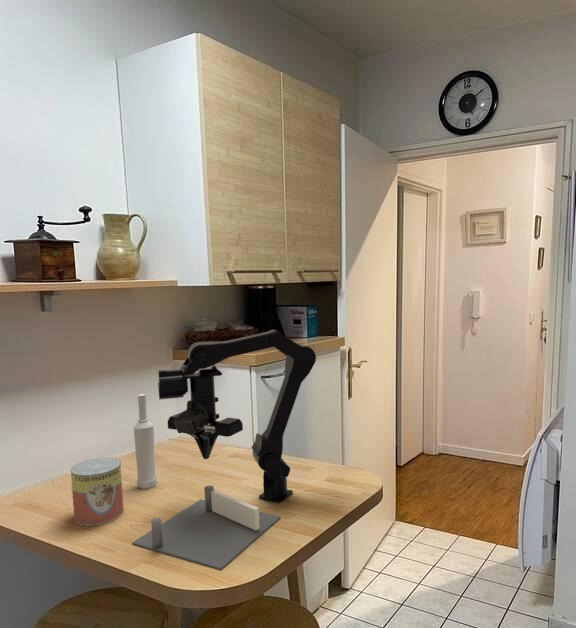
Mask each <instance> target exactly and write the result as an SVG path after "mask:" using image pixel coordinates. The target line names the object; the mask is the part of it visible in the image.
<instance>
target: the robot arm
mask: <svg viewBox="0 0 576 628" xmlns="http://www.w3.org/2000/svg"><path fill="white" fill-rule="evenodd" d="M271 348H274V349H275V350H278V351H279V352H280V353H282V354H283V355H285V356H286V358H285V362H284V364H285V365H284V378H283V381H282V384H281V387H280V390H279V392H278V394H277V395H278V396H277V398H276V401H275V404H274V407H273V410H272V412H271V415H270V418H269V422H268V424H267V427H266V429H265V430H264V432H262V434H260V433H256V435H255V439H254V442H253V444H252V446H251V450H252V457H253V459H254V461H255V462H256V463H257V465H258V467H259V468H260V469H261V470H262V471H263V475H262V477H263V481H262V482H263V484H262V485H263V492H262V493H261V494H260V495H259V496H258V498H259V499H260V500H266V501H271V502H276V503H282V502H284V501H285V500H286V499H287V498H288V497H290V496H291V495H292V494H293V490H291V489H288V480H287V479H288V477H289V475H290V471H291V467H290V466H289V465H288V464H287V462H286V461H285V460H284V459H283V458H282V457H283V449H284V446H283V445H284V442H283V440H284V436H285V435H284V434H285V431H286V429H287V426H288V423H289V419H290V417H291V414H292V411H293V409H294V407H295V406H294V405H295V402H296V399H297V397H298V394H299V390H300V388H301V385H302V383H303V382H304V381H305V379H306V378H307V377H308V376H309V374H310V372H311V371H312V370H313V367H314V366H315V363H316V361H317V355H316V353H315V351H314V350H313V348H312V347H309V346H307V345H304V344H301V343H297V342H295V341H293V340H292V339H290V338H288V337H287V336H285V335H283V333H282V332H281V331H278V330H276V329H269V330H268V331H265V332H261V333H256V334H251V335H247V336H243V337H239V338H234V339H229V340H224V341H196V342H194V343H192V344H191V345H190V346H189V348H188V351H187V357H186V358H185V360H184V362H183V363H182V364H181V366H180V369H169V370H167V369H158V371H157V372H158V382H157V387H158V400H168V399H169V400H170V399H178V398H179V399H180V398H184V395H186V394H188V393H189V388H190V400H188V401H187V403H186V409H185V410H184V411H181V412H179V413H177V414H176V413H175V414H174V415H170V416H169V417H168V420H167V429H169V430H176V432H177V433H178V434H186V435H189V436H190V437H191V438H193V439H194V440H195V442H196V444H197V446H198V449H199V451H200V455H201V457H202V458H203V460H208V459H209V458H210V456H211V453H212V450H213V449H214V446H215V443H216V441H217V439H218V437H226V438H227V437H232V436H233V435H236V434H238V433H240V432H242V431H243V430H244V428H243V427H244V425H243V421H242V420H241V419H240V418H237V417H236V418H234V417H226V418H223V419H221V420H218V419H220V413H217V411H216V410H217V409H216V403H217V402H219V397H217V396H216V391H215V390H216V389H215V377H220V376H222V375H223V373H222V372H221V370H220V369H218V368H217V366H216V365H217V364H219V363H221V362H222V361H224V360H226V359H229V358H231V357H236V356H240V355H246V354H250V353H253V352H258V351H261V350H266V349H271ZM188 379H189V382H188ZM188 383H189V385H190V386H189V385H188Z"/></svg>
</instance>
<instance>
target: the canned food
mask: <svg viewBox="0 0 576 628" xmlns="http://www.w3.org/2000/svg"><path fill="white" fill-rule="evenodd" d="M121 467H122V462H121V460H120V459H118V458H113V457H98V458H93V459H88V460H84V461H81V462H79V463H77V464H75V465H73V466H72V467H71V468H70V476H71V491H72V504H73V505H72V506H73V517H74V518H73V522H74V521H75V522H76V523H77V525H78V524H79V526H82V525H86V526H85V527H89V526H88V525H91V526H90V527H93V526H92V525H96V526H101V525H105V524H108V523H111V522H114V521H115V520H117V519H119V518H120V517H121V516H123V514H124V512H125V509H124V496H123V482H122V478H123V477H122V468H121ZM119 516H120V517H119ZM118 517H119V518H118ZM110 521H111V522H110ZM75 522H74V523H75ZM76 523H75V524H76ZM104 523H105V524H104Z"/></svg>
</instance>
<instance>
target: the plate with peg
mask: <svg viewBox="0 0 576 628" xmlns="http://www.w3.org/2000/svg"><path fill="white" fill-rule="evenodd" d="M280 519H282V518H281V515H277V514H276V515H275V514H270V513H267V512H262V511H259V525H260V528H259V529H258V530H253V529H251V528H249V527H247V526H245V525H242V524H240V523H238V522H236V521H233V520H231V519H229V518H227V517H225V516H222V515H220V514H218V513H216V512H213V511H212V510H211V511H207V510H206V509H205V499H202V498H201V499H199V500H198V501H196V502H194V503H193V504H191V505H189V506H188V507H185V509H183V510H182V511H180V512H178V513H177V514H175V515H173V516H172V517H170V518H168V519H167V520H165V521H164V522H163V523H162V518H160V517H155V518H152V519H150V522H151V524H150V525H151V530H149V531H148V532H147V533H145V534H144V535H142V536H140V537H139V538H137V539H136V540H134V541H132V543H131V544H132V545H134V546H136V547H141V548H143V547H144V549H147V550H151V551H154V552H157V553H161V554H165V555H168V556H172V557H175V558H178V559H182V560H186V561H189V562H192V563H195V564H199V565H202V566H205V567H210V568H212V569H216V570H220V571H222V570H223V569H224V568H226V567H227V565H229V564H230V563H231V562H232V561H234V559H236V558H237V557H238V556H239V555H240V554H241V553H242V552H244V551H245V550H246V549H247V548H249V546H251V545H252V544H253V543H254V542H255V541H256V540H258V538H260V537H261V536H262V535H263V534H264V533H265V532H266V531H268V530H269V529H271V527H273V525H275V524H276V523H277V522H278V521H279V520H280Z"/></svg>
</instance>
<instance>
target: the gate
mask: <svg viewBox="0 0 576 628" xmlns="http://www.w3.org/2000/svg"><path fill="white" fill-rule="evenodd" d="M203 490H204V500H205V509H206V510H207V511H211V510H212V511H213V512H216V513H218V514H220V515H222V516H225V517H227V518H229V519H231V520H233V521H236V522H238V523H240V524H242V525H245V526H247V527H249V528H251V529H253V530H258V529H259V528H260V525H259V512H260V508H259V507H258V506H255V505H253V504H250V503H248V502H245V501H243V500H241V499H238V498H236V497H233V496H230V495H228V494H226V493H223V492H221V491H218V490H215V487H214V485H210V484H209V485H206V486H204V489H203Z"/></svg>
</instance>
